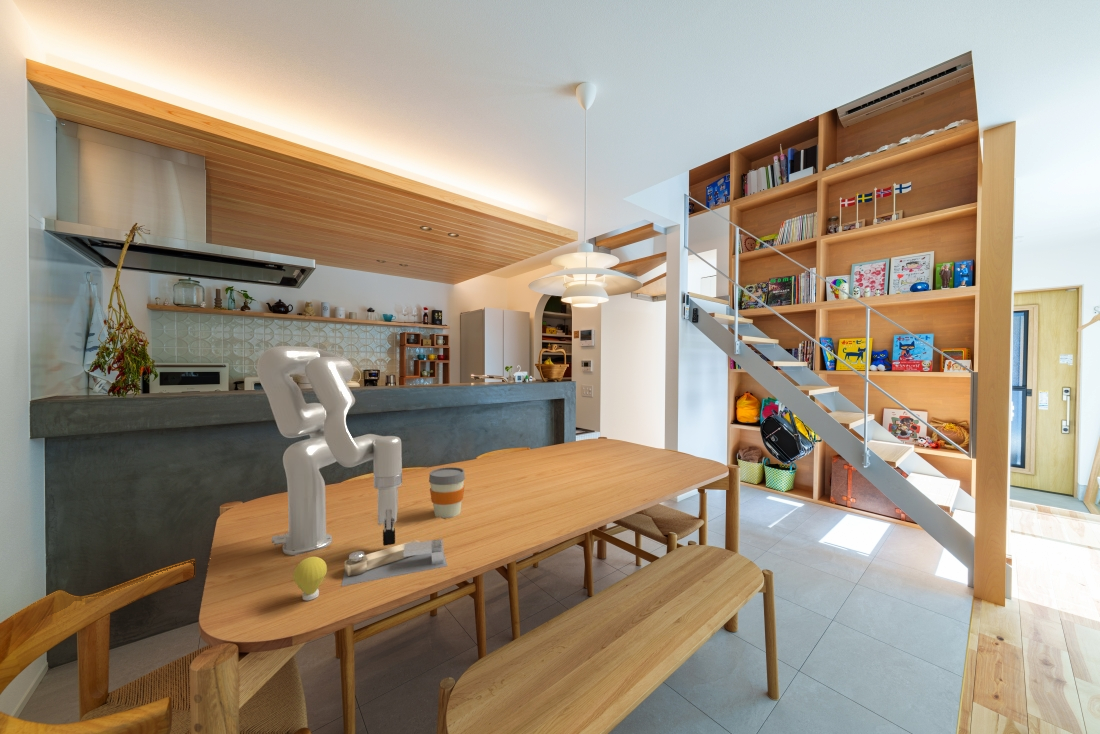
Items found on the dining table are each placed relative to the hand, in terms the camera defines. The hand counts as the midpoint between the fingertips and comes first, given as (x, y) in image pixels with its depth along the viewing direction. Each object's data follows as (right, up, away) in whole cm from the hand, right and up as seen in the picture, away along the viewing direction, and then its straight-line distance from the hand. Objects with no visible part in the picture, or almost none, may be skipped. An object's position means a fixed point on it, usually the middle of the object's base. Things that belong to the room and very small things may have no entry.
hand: (389, 543), depth 116 cm
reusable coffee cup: (+9, -2, +29) cm, 31 cm away
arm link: (+2, -1, -7) cm, 8 cm away
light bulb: (-9, -4, -23) cm, 25 cm away
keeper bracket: (+12, -2, -7) cm, 14 cm away
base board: (+5, -3, -8) cm, 10 cm away
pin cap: (-4, +1, -12) cm, 12 cm away
